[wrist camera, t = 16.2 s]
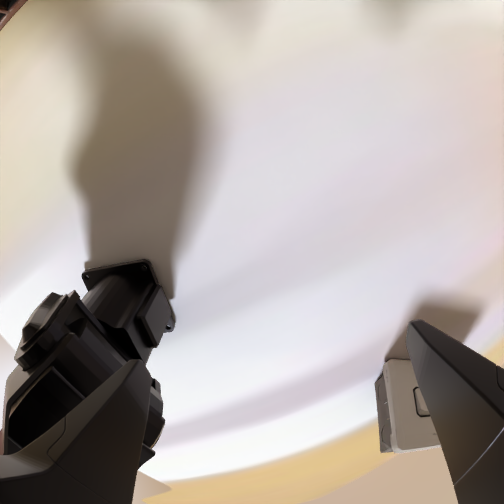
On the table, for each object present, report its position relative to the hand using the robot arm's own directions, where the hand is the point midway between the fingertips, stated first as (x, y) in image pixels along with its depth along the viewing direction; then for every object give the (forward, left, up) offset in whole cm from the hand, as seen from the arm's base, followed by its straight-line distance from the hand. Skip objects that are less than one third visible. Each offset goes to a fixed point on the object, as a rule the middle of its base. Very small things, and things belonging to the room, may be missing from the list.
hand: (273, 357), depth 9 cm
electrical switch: (+12, -19, -12) cm, 26 cm away
